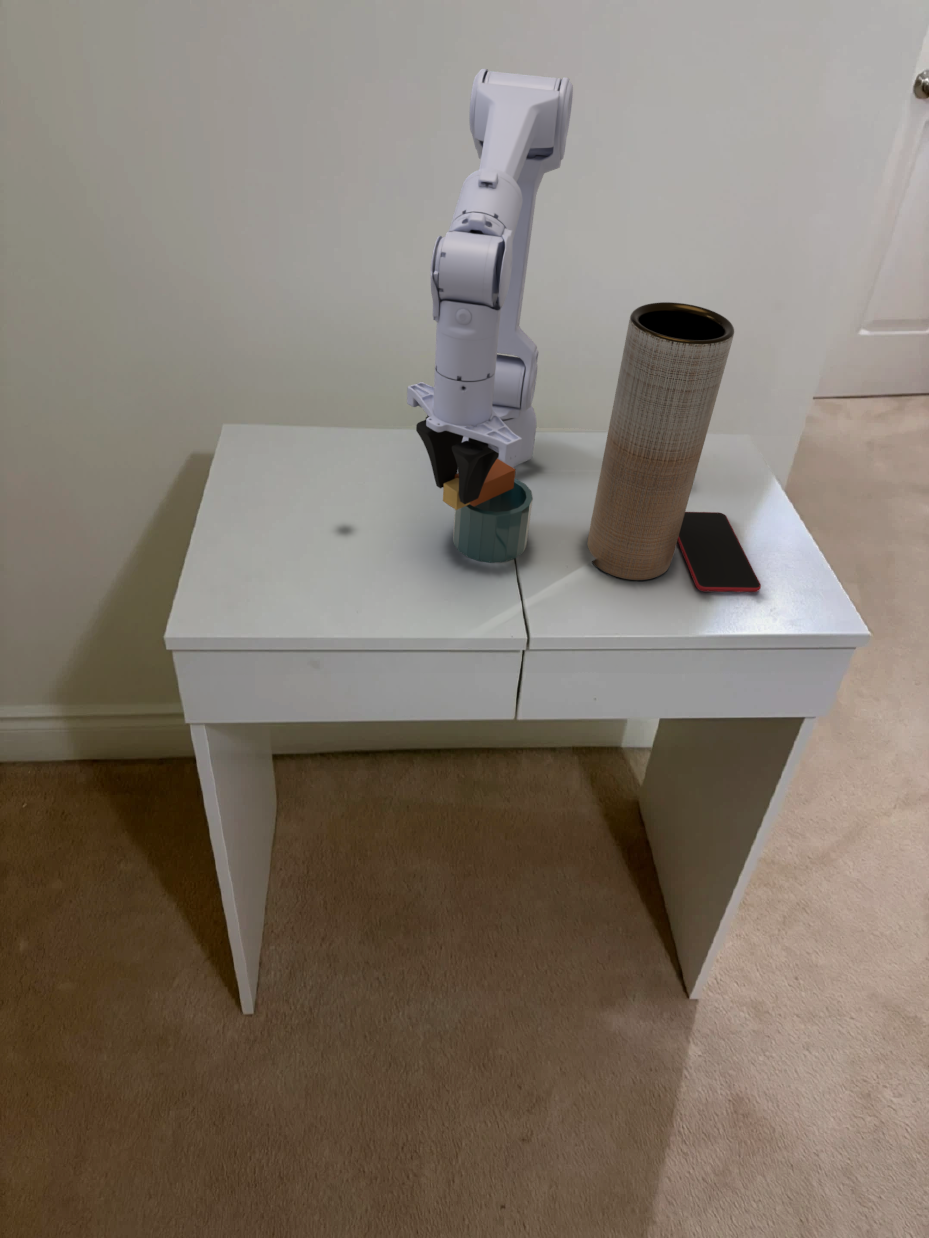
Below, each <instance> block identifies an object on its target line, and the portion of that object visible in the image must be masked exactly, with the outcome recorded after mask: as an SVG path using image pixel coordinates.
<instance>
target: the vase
mask: <svg viewBox="0 0 929 1238" xmlns="http://www.w3.org/2000/svg"><path fill="white" fill-rule="evenodd" d="M734 335H735V328H734V324H733V323H732V322H731V321H730V320H729V319H728V318H726V317H725V316H723V315H722V314H720V313H718V312H716V311H713V310H711V309H709V308H705V307H702V306H700V305H699V306H698V305H693V304H688V303H683V302H669V301H666V302H665V301H664V302H661V301H660V302H652V303H647V304H643V305H641V306H638V307H637V308H635V309H633V311H632V312H631V313H630V315H629V319H628V325H627V331H626V335H625V340H624V346H623V351H622V356H621V362H620V367H619V371H618V372H619V373H618V378H617V383H616V388H615V394H614V397H613V403H612V409H611V415H610V420H609V424H608V430H607V436H606V441H605V445H604V446H605V447H604V451H603V457H602V461H601V466H600V471H599V472H600V473H599V477H598V483H597V488H596V493H595V498H594V504H593V509H592V515H591V519H590V525H589V526H590V527H589V530H588V534H587V535H588V536H587V543H586V544H587V549H588V551H589V553H590V554H591V555H592V556H593V557H594V558H595V559H594V560H592V561H591V563H592V564H593V565H594V566H595V567H597V568H598V569H599V570H600V571H602V572H604V573H606V574H608V575H610V576H613V577H615V578H619V579H622V580H630V581H647V580H651V579H655V578H657V577H659V576H661V575H663V574H665V573H666V572H667V571H668V569H669V568H670V566H671V564H672V561H673V558H674V554H675V551H676V547H677V544H678V541H677V540H678V536H679V533H680V529H681V525H682V522H683V518H684V514H685V512H687V507H688V503H689V499H690V496H691V493H692V489H693V486H694V481H695V479H696V474H697V472H698V471H697V470H698V467H699V463H700V459H701V457H702V453H703V449H704V446H705V442H706V438H707V435H708V430H709V427H710V423H711V420H712V416H713V412H714V410H715V405H716V401H717V397H718V395H719V390H720V388H721V383H722V379H723V376H724V373H725V369H726V365H727V362H728V357H729V354H730V350H731V346H732V344H733V341H734V340H733V339H734Z"/></svg>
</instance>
